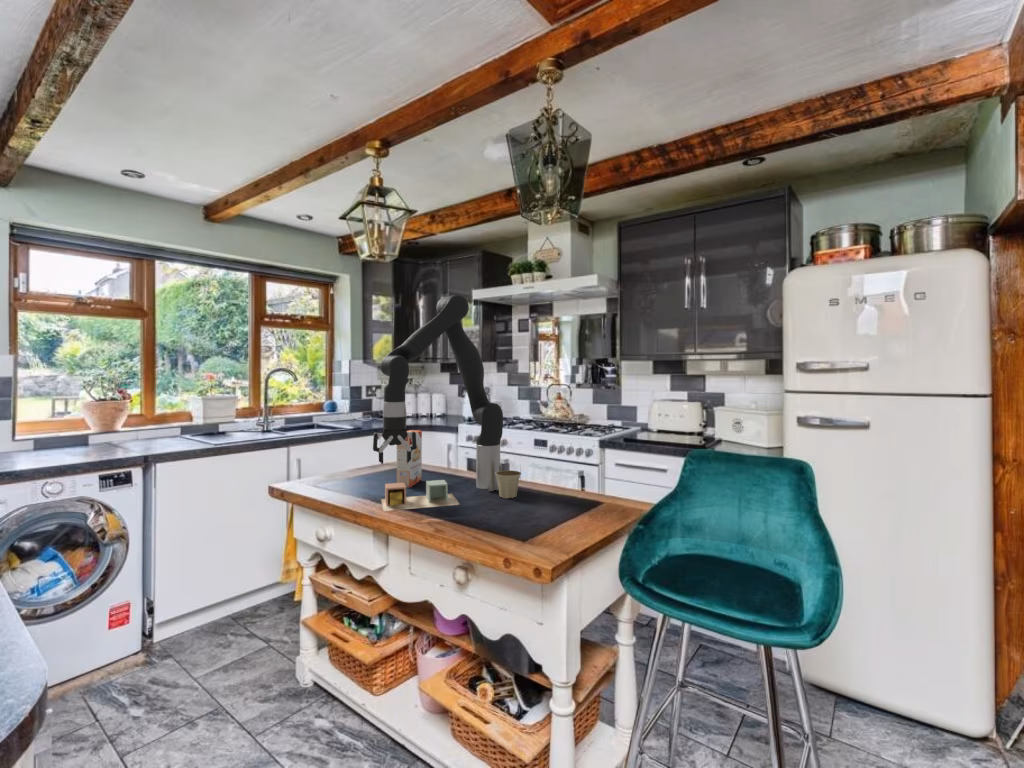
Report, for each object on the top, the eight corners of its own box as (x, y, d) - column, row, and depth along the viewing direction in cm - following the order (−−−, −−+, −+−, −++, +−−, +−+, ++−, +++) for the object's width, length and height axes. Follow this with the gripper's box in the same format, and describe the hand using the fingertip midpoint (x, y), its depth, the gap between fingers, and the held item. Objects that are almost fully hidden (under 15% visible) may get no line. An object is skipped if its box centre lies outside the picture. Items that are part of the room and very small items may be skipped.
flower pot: (522, 493, 192) (522, 470, 191) (520, 500, 182) (520, 476, 182) (497, 492, 192) (497, 469, 192) (493, 499, 183) (493, 475, 183)
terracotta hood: (404, 499, 179) (403, 482, 179) (406, 504, 173) (405, 486, 173) (385, 501, 177) (385, 483, 177) (386, 506, 171) (386, 488, 171)
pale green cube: (444, 496, 183) (444, 479, 183) (447, 501, 177) (447, 483, 177) (426, 497, 181) (426, 481, 181) (428, 502, 175) (428, 485, 175)
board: (451, 496, 188) (451, 493, 188) (460, 507, 173) (460, 504, 173) (380, 501, 180) (380, 499, 180) (383, 514, 166) (383, 511, 166)
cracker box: (410, 489, 198) (410, 434, 197) (395, 488, 199) (395, 434, 198) (422, 480, 212) (422, 429, 211) (408, 480, 213) (408, 429, 212)
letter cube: (401, 501, 178) (400, 489, 177) (402, 504, 174) (402, 492, 174) (389, 502, 176) (388, 490, 176) (390, 505, 172) (389, 492, 172)
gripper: (414, 413, 180) (414, 459, 180) (372, 414, 175) (372, 461, 176) (417, 415, 172) (417, 463, 173) (373, 416, 168) (373, 466, 169)
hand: (394, 462), depth 175 cm, fingers open, 8 cm apart
